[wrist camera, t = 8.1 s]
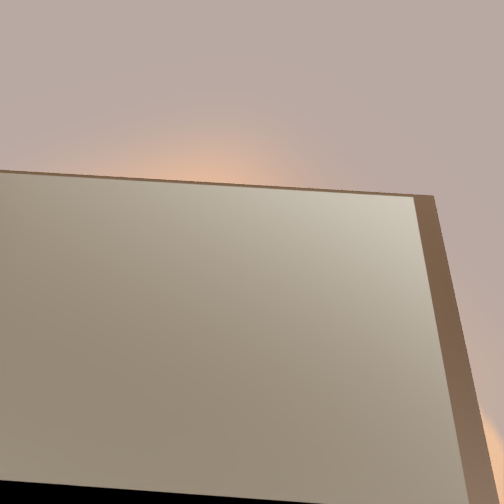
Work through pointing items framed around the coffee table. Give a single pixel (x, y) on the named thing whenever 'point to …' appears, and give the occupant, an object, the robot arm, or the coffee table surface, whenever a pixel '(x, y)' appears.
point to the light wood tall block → (230, 347)
